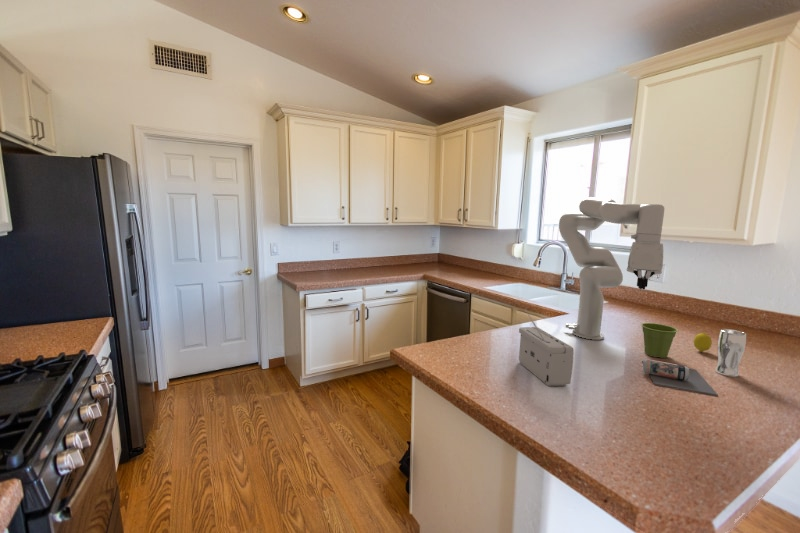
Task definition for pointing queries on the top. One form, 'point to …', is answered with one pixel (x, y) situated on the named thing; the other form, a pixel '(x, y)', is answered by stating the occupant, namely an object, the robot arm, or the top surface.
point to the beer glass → (730, 351)
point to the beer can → (666, 369)
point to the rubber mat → (685, 383)
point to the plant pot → (658, 339)
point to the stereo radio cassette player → (545, 356)
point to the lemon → (702, 342)
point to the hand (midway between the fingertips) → (641, 288)
